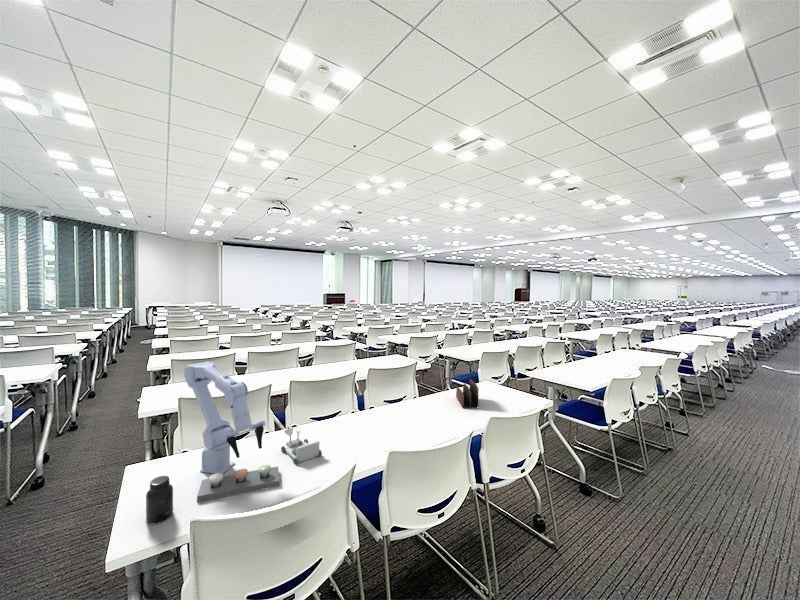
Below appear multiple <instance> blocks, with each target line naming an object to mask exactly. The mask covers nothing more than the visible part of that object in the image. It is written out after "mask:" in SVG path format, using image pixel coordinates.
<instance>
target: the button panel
mask: <svg viewBox="0 0 800 600" xmlns="http://www.w3.org/2000/svg"><path fill="white" fill-rule="evenodd" d="M279 486H280V471H279V466H274V467H272V466H271V471H270V472H269V473H268V474H267V477H266V478H262V475H261V474H259V473H258V469H254V470H250V471H248V475H247V476H246V477H244V481H243V482H238V479H236V478H234V473H233V474H227V475H223V480H222V481H220V482H219V486H217V487H213V484H212V483H209V478H204V479H202V480H201V483H200V486H199V489H198V493H197V496H196V502H197V501H200V502H205V501H209V500H214V499H220V498H225V497H230V496H235V495H241V494H244V493H245V494H246V493H250V492H251V493H252V492H255V491H260V490H261V491H262V490H266V489H271V488H275V487H276V488H277V487H279Z"/></svg>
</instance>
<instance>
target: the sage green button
mask: <svg viewBox="0 0 800 600" xmlns="http://www.w3.org/2000/svg"><path fill="white" fill-rule="evenodd" d="M271 468H272V466H271V465H270V464H264V465H261V466H259V467H258V469H257V470H258V473H259V474H261V475H262V478H266V477H267V474H268V473H269V472H270V471H271Z"/></svg>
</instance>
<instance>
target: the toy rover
mask: <svg viewBox="0 0 800 600" xmlns="http://www.w3.org/2000/svg"><path fill="white" fill-rule="evenodd" d="M293 433H294V427H290V428H289V426H288V427H287V429H285V431H284V434H286V436H288V437H289V441H288V442H287V441H286V443H285V445H286V446H287V447H286V446H284V445H283V446H281V448H280V450H281V453H282V454H287V455H288V456H289V457H290V458H291V459H292V462H293V464H294V465H295V466H298V465H299V463H301V462H304V461H307V460H309V459H312V458H315V457H319V458H320V457H322V456H323V455H322V454H323V452H322V450H321V449H320V440H317V441H312V442H310V443H309V441H308V439H307V438H305V439H303V441H302V440H301V439H300V438H299V436H300V435H299V434H301V430H299V429H296V430H295V433H296V434H297V439H294V440H292V435H293Z"/></svg>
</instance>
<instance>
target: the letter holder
mask: <svg viewBox="0 0 800 600" xmlns="http://www.w3.org/2000/svg"><path fill="white" fill-rule="evenodd" d="M456 397H457V398H456ZM455 398H456V400H457V399H458V400H457V401H459V402H460V403H459V402H458V403H459V405H460V404H461V405H460V406H461V408H462V409H469V408H477V407H478V408H479V386H478V385H477V384H476V383H475V381H474V380H473V379H472V378H471V379H470V378H469V386H468V385H467V384H466V383H463V385H462V390H461V388H460V387H459V386H457V387H456V392H455Z"/></svg>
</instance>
